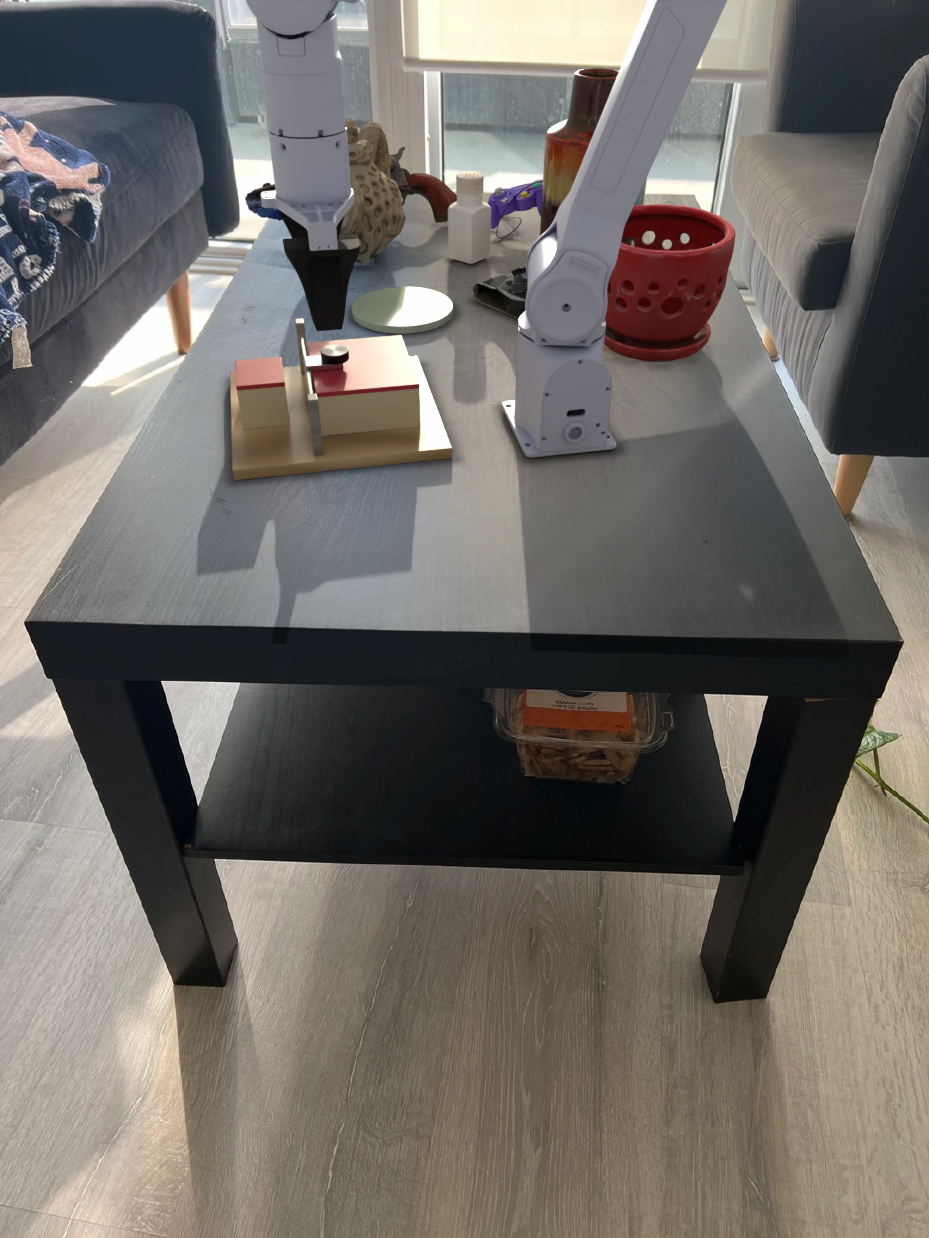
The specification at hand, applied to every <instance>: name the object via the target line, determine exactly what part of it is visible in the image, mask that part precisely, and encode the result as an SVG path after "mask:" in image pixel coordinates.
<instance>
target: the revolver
mask: <svg viewBox="0 0 929 1238" xmlns="http://www.w3.org/2000/svg"><path fill="white" fill-rule="evenodd" d="M405 150H406V146H401V147H400V148H399V149H398V151H397V153H393V154H389V162H390V174H391V179H392V180H393V181H395V182H396V183H397V185H398V188H399V190H400V192H401V194H402V197H401V201H402V207H404V205H405V203H406V200H407V197H408V196H414V195H420V196H422V197H423V198H424V199H425V200H426V201H427V202H428V204H429V206H430V208H431V211H432V215H433V220H434V222H435V223H437V224H439V223H447V222H448V208H449V206H450V205H451V204H453V203H454V202H457V193H456V192H455V191H453V190H452V188H450V187H449V186H448V185H447V184H446V183H445V182H444V181H442V180H441V179H440V178H438V177H436V176H434V175H431V174H429V173H422V172H418V173H417V172H414V173H411V172H410V170H407V168H403V167H401V164H400V161H401V159H402V157H403V153H404V151H405ZM253 190H254V192H255V195H256V198H257V200H258V199H261V193H262V192H264V191H274V190H275V183H273V184H271V183H270V182H266V183H265V182H264V183H263V184H262V186H261V187H258V188H255V189H253Z"/></svg>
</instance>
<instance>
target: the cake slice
mask: <svg viewBox="0 0 929 1238" xmlns="http://www.w3.org/2000/svg"><path fill="white" fill-rule="evenodd" d="M283 367H284V364H283V358H282V356H274V357H273V356H272V357H260V358H248V359H237V360H234V369H235V370H234V371H235V372H236V389H237V395H238V401H239V407H240V413H241V419H242V425H243V429H250V428H261V427H272V426H283V425H290V418H289V410H288V402H287V395H286V387H285V379H284V372H283Z"/></svg>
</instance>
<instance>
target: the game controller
mask: <svg viewBox="0 0 929 1238" xmlns="http://www.w3.org/2000/svg"><path fill="white" fill-rule="evenodd" d="M542 189H543V179H536V180H533V181H532V182H528V183H523V184H520V185H516V186H512V187H510V188H502V187H497V188H495V189H494V192H492V194H490V195H489V197H488V201H487V204H488V205H489V206H490V207H491V230H494V229H496V231H495V233H496V237H497V239H498V240H502V239H505V238H507V237H509V236H511V235H512V234H513V233H514V232H516V230H517V229H518V228H519V227H520V225H521V224H522V221H523V219H522V218H521V217H517V216H512V217H510V216H509V217H508V215H511V214H513V213H515V212H527V211H530V210H533V208H537V212H538V214H539V217H541V207H542ZM502 218H505V219H506V218H508V219H510V218H513V219H514V218H515V219H516V218H517V219H519V221H520V222H519V223H518V225H517V226H516V227H515V228H514V229H513V230H512V231H511V232H510V233H508V234H507V235H504V236H502V237H499V234H498V228H499V225H500V222H501V220H502Z"/></svg>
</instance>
